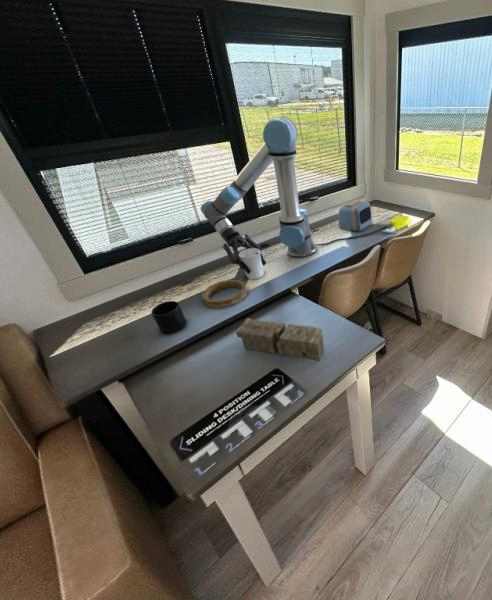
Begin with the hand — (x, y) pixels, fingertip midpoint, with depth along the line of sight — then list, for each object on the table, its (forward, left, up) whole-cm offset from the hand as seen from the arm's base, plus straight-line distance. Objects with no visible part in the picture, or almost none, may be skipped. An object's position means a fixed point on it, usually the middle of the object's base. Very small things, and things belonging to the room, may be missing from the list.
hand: (257, 268), depth 150 cm
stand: (+16, +11, -5) cm, 20 cm away
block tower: (-3, +56, -5) cm, 56 cm away
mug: (+35, +27, -5) cm, 44 cm away
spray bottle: (-87, -27, -5) cm, 91 cm away
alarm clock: (-64, -40, -5) cm, 76 cm away
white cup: (+2, -3, -5) cm, 6 cm away
